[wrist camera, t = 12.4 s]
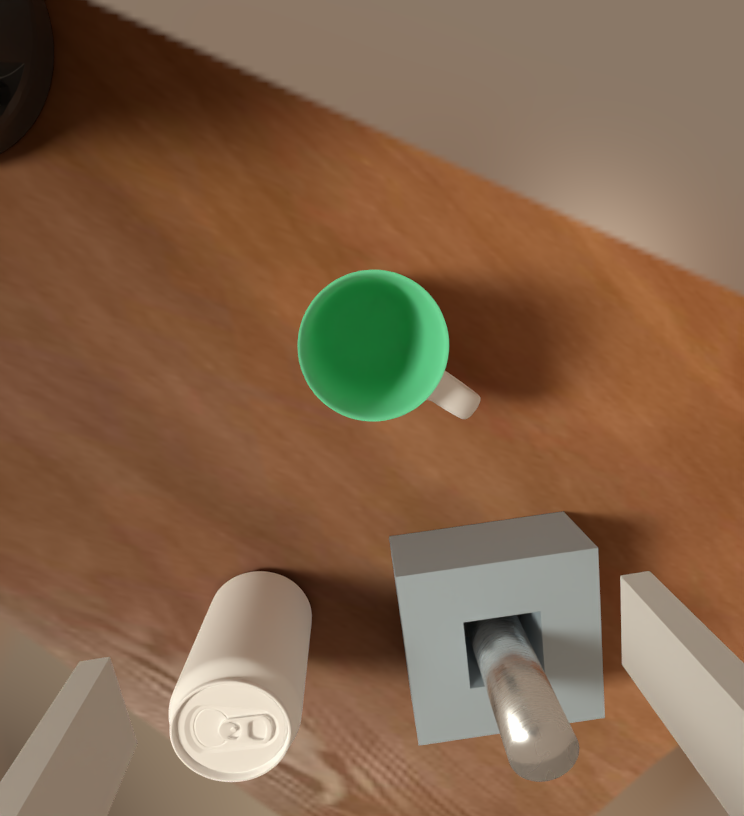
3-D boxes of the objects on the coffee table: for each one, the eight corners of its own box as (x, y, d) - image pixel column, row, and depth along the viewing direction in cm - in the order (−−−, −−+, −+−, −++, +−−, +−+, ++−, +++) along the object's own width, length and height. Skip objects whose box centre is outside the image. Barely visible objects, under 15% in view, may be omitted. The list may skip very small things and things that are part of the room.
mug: (488, 338, 39) (538, 356, 29) (431, 430, 40) (459, 479, 30) (345, 251, 37) (345, 239, 27) (290, 351, 38) (270, 375, 28)
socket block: (388, 536, 42) (395, 577, 36) (563, 511, 42) (598, 547, 36) (409, 686, 45) (418, 745, 39) (571, 662, 45) (604, 717, 40)
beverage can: (209, 566, 42) (156, 675, 30) (312, 566, 42) (298, 673, 31) (214, 656, 44) (165, 790, 32) (312, 654, 44) (300, 787, 33)
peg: (458, 586, 43) (505, 727, 29) (507, 580, 43) (577, 717, 29) (462, 629, 44) (510, 785, 30) (510, 623, 44) (580, 776, 30)
